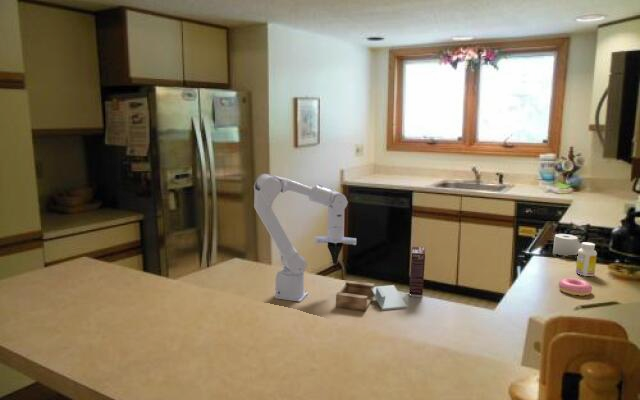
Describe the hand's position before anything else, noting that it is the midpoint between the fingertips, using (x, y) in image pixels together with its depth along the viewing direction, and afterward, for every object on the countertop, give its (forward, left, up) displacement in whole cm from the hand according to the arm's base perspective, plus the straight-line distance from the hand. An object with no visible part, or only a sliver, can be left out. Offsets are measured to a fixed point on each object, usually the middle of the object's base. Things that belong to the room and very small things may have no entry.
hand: (335, 263), depth 172 cm
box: (+10, -7, -10) cm, 16 cm away
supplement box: (+28, +8, -11) cm, 31 cm away
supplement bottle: (+90, +51, -11) cm, 104 cm away
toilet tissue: (+88, +78, -11) cm, 118 cm away
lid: (+20, -4, -9) cm, 22 cm away
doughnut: (+83, +29, -11) cm, 88 cm away
